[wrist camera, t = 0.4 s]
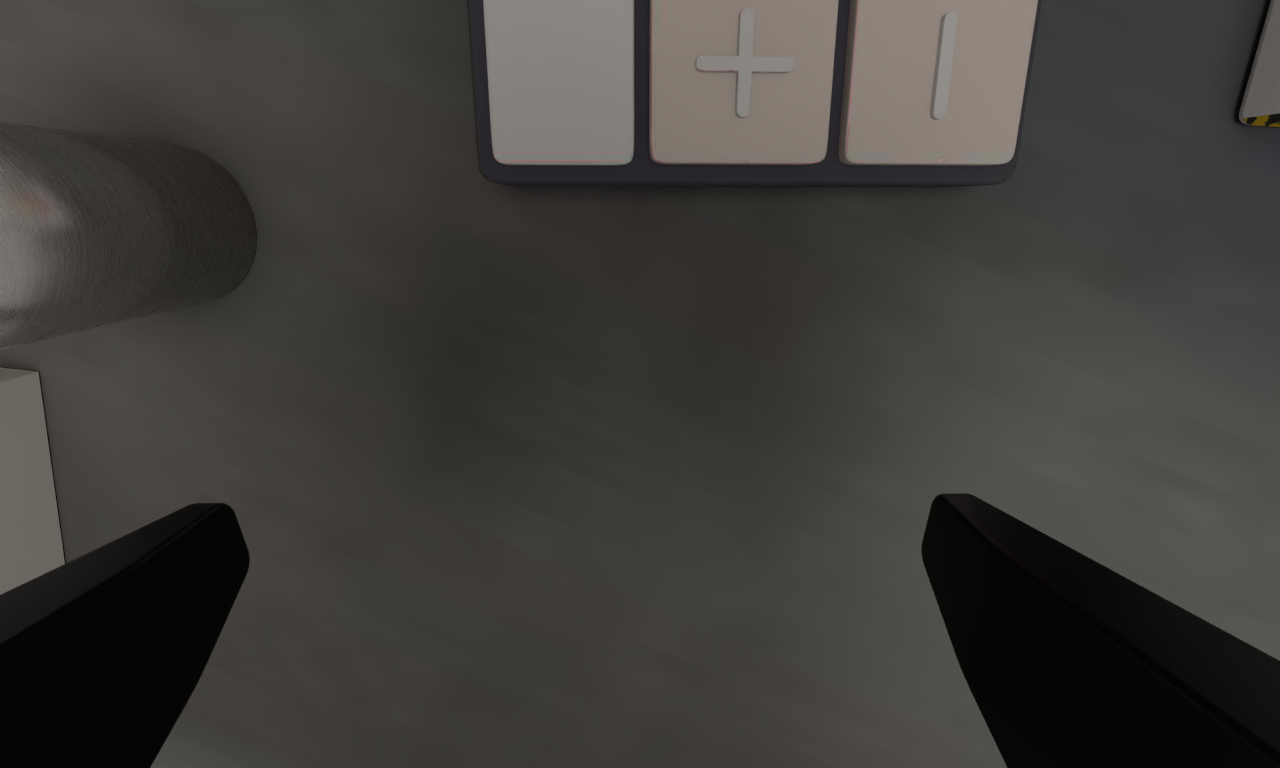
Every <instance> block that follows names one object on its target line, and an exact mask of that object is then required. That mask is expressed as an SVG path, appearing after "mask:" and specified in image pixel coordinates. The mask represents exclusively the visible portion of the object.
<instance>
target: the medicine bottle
mask: <svg viewBox="0 0 1280 768" xmlns="http://www.w3.org/2000/svg"><path fill="white" fill-rule="evenodd" d="M1239 119H1240V121H1241V123H1244V124H1247V125H1253V126H1272V127H1280V0H1271V2H1270V5H1269V9H1268V13H1267V16H1266V20H1265V23H1264V27H1263V30H1262V34H1261V37H1260V41H1259V44H1258V48H1257V51H1256V55H1255V58H1254V62H1253V65H1252V69H1251V72H1250V76H1249V79H1248V83H1247V87H1246V90H1245V94H1244V97H1243V101H1242V104H1241V108H1240V111H1239Z"/></svg>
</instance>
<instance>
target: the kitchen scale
mask: <svg viewBox="0 0 1280 768" xmlns="http://www.w3.org/2000/svg"><path fill="white" fill-rule="evenodd" d="M64 564H65V560H64V553H63V546H62V539H61V531H60V524H59V517H58V510H57V502H56V495H55V488H54V481H53V473H52V466H51V459H50V452H49V444H48V437H47V430H46V423H45V416H44V408H43V401H42V394H41V387H40V379H39V372H37V371H28V370H19V369H10V368H2V367H0V595H1V594H3V593H5V592H7V591H9V590H11V589H13V588H15V587H18V586H20V585H22V584H24V583H26V582H28V581H30V580H32V579H34V578H36V577H39V576H41V575H43V574H45V573H47V572H49V571H51V570H53V569H55V568H58V567H60V566H62V565H64Z"/></svg>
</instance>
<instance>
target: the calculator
mask: <svg viewBox="0 0 1280 768" xmlns="http://www.w3.org/2000/svg"><path fill="white" fill-rule="evenodd" d="M1041 1H1042V0H467V4H468V19H469V34H470V49H471V65H472V80H473V95H474V110H475V126H476V141H477V155H478V165H479V169H480V172H481V174H482V175H483V176H484V177H485V178H486V179H487V180H488V181H491V182H493V183H497V184H503V185H508V186H806V187H952V186H976V185H993V184H1001V183H1004V182H1005V181H1007V180H1008V179H1009V178H1010V177H1011V176H1012V175H1013V173H1014V171H1015V167H1016V162H1017V156H1018V150H1019V144H1020V137H1021V131H1022V124H1023V118H1024V111H1025V105H1026V99H1027V92H1028V86H1029V79H1030V73H1031V66H1032V60H1033V53H1034V47H1035V40H1036V34H1037V27H1038V21H1039V14H1040V8H1041Z"/></svg>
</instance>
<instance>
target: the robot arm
mask: <svg viewBox="0 0 1280 768" xmlns="http://www.w3.org/2000/svg"><path fill="white" fill-rule="evenodd" d="M922 559H923V563H924V566H925V569H926V572H927V575H928V577H929V580H930V583H931V586H932V589H933V592H934V594H935V597H936V600H937V603H938V606H939V609H940V611H941V614H942V617H943V620H944V623H945V626H946V628H947V631H948V634H949V637H950V640H951V643H952V645H953V648H954V651H955V654H956V657H957V659H958V662H959V664H960V667H961V669H962V672H963V674H964V677H965V679H966V681H967V683H968V685H969V688H970V690H971V692H972V694H973V696H974V698H975V701H976V703H977V705H978V707H979V709H980V711H981V713H982V715H983V717H984V719H985V721H986V724H987V726H988V728H989V730H990V732H991V734H992V736H993V738H994V740H995V742H996V745H997V747H998V749H999V751H1000V753H1001V755H1002V757H1003V759H1004V761H1005V763H1006V765H1007V768H1280V661H1279V660H1277V659H1275V658H1273V657H1271V656H1270V655H1268V654H1266V653H1264V652H1262V651H1260V650H1259V649H1257V648H1255V647H1253V646H1251V645H1249V644H1247V643H1246V642H1244V641H1242V640H1240V639H1238V638H1236V637H1234V636H1233V635H1231V634H1229V633H1227V632H1225V631H1223V630H1221V629H1220V628H1218V627H1216V626H1214V625H1212V624H1210V623H1209V622H1207V621H1205V620H1203V619H1201V618H1199V617H1197V616H1196V615H1194V614H1192V613H1190V612H1188V611H1186V610H1184V609H1183V608H1181V607H1179V606H1177V605H1175V604H1173V603H1171V602H1170V601H1168V600H1166V599H1164V598H1162V597H1160V596H1159V595H1157V594H1155V593H1153V592H1151V591H1149V590H1147V589H1146V588H1144V587H1142V586H1140V585H1138V584H1136V583H1134V582H1133V581H1131V580H1129V579H1127V578H1125V577H1123V576H1121V575H1120V574H1118V573H1116V572H1114V571H1112V570H1110V569H1109V568H1107V567H1105V566H1103V565H1101V564H1099V563H1097V562H1096V561H1094V560H1092V559H1090V558H1088V557H1086V556H1084V555H1083V554H1081V553H1079V552H1077V551H1075V550H1073V549H1072V548H1070V547H1068V546H1066V545H1064V544H1062V543H1060V542H1059V541H1057V540H1055V539H1053V538H1051V537H1049V536H1047V535H1046V534H1044V533H1042V532H1040V531H1038V530H1036V529H1035V528H1033V527H1031V526H1029V525H1027V524H1025V523H1023V522H1022V521H1020V520H1018V519H1016V518H1014V517H1012V516H1010V515H1009V514H1007V513H1005V512H1003V511H1001V510H999V509H998V508H996V507H994V506H992V505H990V504H988V503H986V502H985V501H983V500H981V499H979V498H977V497H975V496H973V495H971V494H940V495H938V496H936V497H935V499H934V500H933V502H932V505H931V509H930V513H929V517H928V521H927V525H926V529H925V533H924V537H923V542H922ZM249 562H250V558H249V551H248V548H247V545H246V543H245V540H244V537H243V534H242V531H241V529H240V526H239V523H238V520H237V517H236V515H235V512H234V510H233V509H232V508H231V507H230V506H229V505H227V504H224V503H196V504H191V505H188V506H186V507H184V508H182V509H180V510H178V511H175V512H173V513H171V514H169V515H167V516H165V517H163V518H161V519H159V520H156V521H154V522H152V523H150V524H148V525H146V526H144V527H142V528H140V529H138V530H135V531H133V532H131V533H129V534H127V535H125V536H123V537H121V538H119V539H116V540H114V541H112V542H110V543H108V544H106V545H104V546H102V547H100V548H98V549H95V550H93V551H91V552H89V553H87V554H85V555H83V556H81V557H79V558H76V559H74V560H72V561H70V562H68V563H66V564H64V565H62V566H60V567H58V568H55V569H53V570H51V571H49V572H47V573H45V574H43V575H41V576H39V577H36V578H34V579H32V580H30V581H28V582H26V583H24V584H22V585H20V586H18V587H15V588H13V589H11V590H9V591H7V592H5V593H3V594H1V595H0V768H150V767H151V765H152V764H153V762H154V760H155V758H156V756H157V755H158V753H159V751H160V749H161V748H162V746H163V744H164V742H165V741H166V739H167V737H168V735H169V734H170V732H171V730H172V728H173V727H174V725H175V723H176V721H177V720H178V718H179V716H180V714H181V713H182V711H183V709H184V707H185V706H186V704H187V702H188V700H189V698H190V696H191V694H192V693H193V691H194V689H195V687H196V685H197V683H198V681H199V679H200V677H201V675H202V673H203V671H204V669H205V666H206V664H207V662H208V660H209V658H210V655H211V653H212V651H213V649H214V646H215V644H216V642H217V640H218V637H219V635H220V633H221V631H222V629H223V626H224V624H225V622H226V620H227V617H228V615H229V613H230V611H231V608H232V606H233V604H234V602H235V599H236V597H237V595H238V593H239V590H240V588H241V586H242V584H243V581H244V579H245V577H246V575H247V572H248V568H249Z"/></svg>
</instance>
